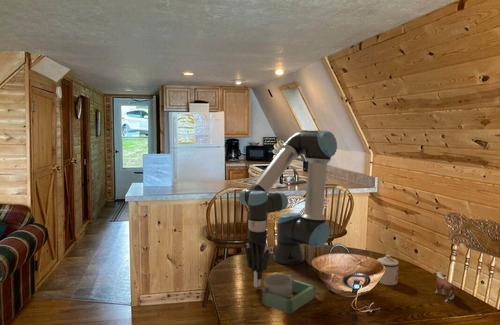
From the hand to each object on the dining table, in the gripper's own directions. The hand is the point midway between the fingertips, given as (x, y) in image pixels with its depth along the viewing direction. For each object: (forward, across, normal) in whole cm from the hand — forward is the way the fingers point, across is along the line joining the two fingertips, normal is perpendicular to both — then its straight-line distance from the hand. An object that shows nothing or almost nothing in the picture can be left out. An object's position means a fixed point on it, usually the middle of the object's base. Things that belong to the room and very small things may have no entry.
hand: (257, 285), depth 158 cm
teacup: (+2, +11, 0) cm, 11 cm away
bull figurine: (+2, +61, +41) cm, 74 cm away
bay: (+1, +16, -1) cm, 16 cm away
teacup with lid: (+2, +38, +43) cm, 58 cm away
